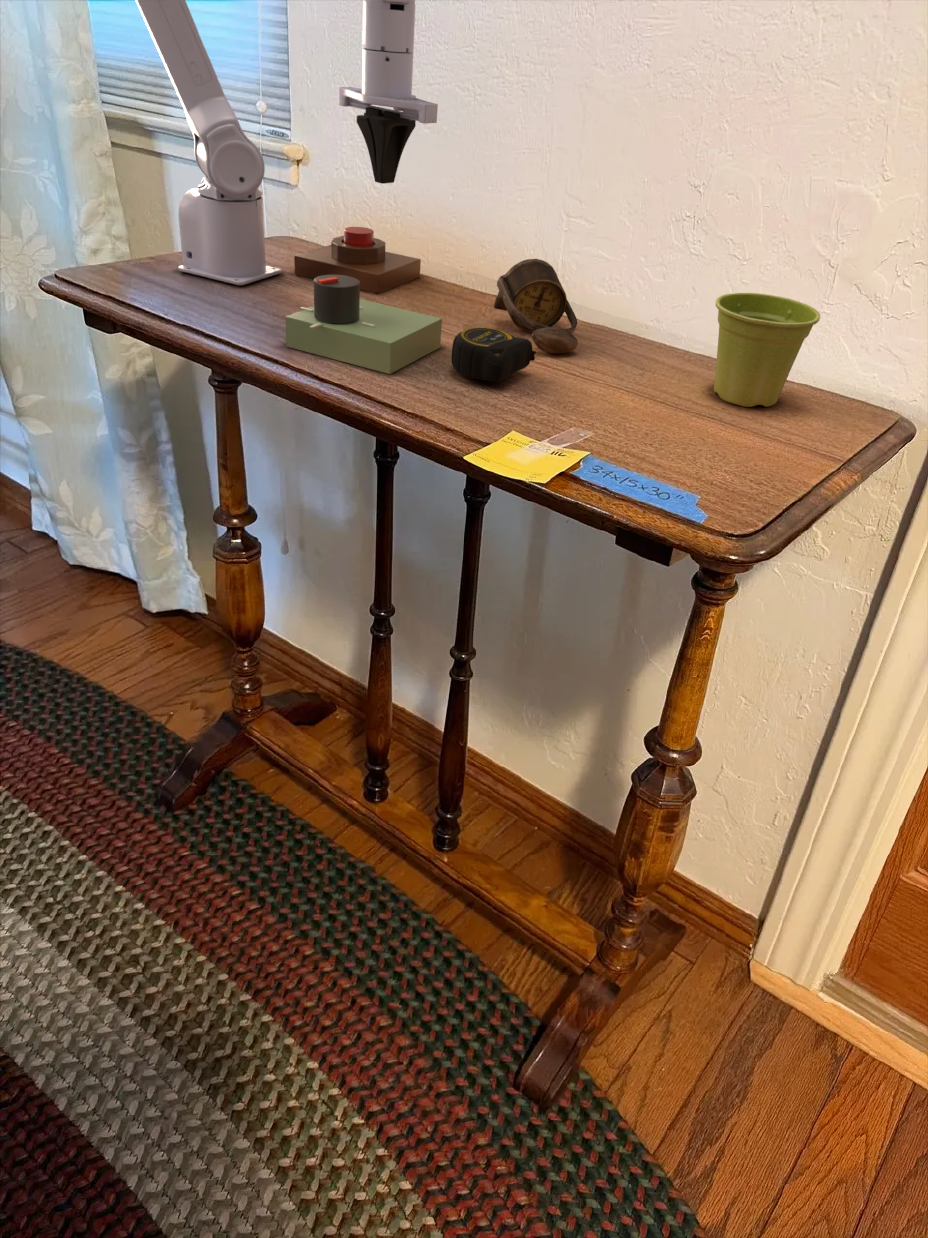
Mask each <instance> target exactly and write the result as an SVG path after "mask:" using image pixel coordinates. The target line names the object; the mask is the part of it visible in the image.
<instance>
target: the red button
mask: <svg viewBox="0 0 928 1238" xmlns="http://www.w3.org/2000/svg"><path fill="white" fill-rule="evenodd" d="M374 233H375V232H374V230H373V229H372V228H369V227H364V226H348V227H344V228H343V236H344V244H347V245H352V246H372V245H373V244H374V238H375V236H374V235H375V234H374Z"/></svg>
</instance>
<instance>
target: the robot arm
mask: <svg viewBox="0 0 928 1238" xmlns="http://www.w3.org/2000/svg"><path fill="white" fill-rule="evenodd" d="M135 3H136V5H137V7H138V10H139V12H140V14H141V16H142V19H143V21H144V23H145V26H146V27H147V30H148V32H149V34H150V37H151V39H152V41H153V43H154V45H155V47H156V50H157V52H158V54H159V57H160V59H161V61H162V63H163V65H164V69H165V70H166V72H167V74H168V77H169V78H170V81H171V83H172V85H173V88H174V90H175V92H176V95H177V97H178V99H179V101H180V104H181V106H182V108H183V111H184V114H185V117H186V122H187V124H188V126H189V128H190V131H191V133H192V136H193V143H194V146H193V155H194V158H195V162H196V165H197V167H198V169H199V170H200V171H201V172H202V174H203V175H204V177H202V180H201V181H200V182H199V184H198V185H197V187H193V188H191V189H189V190H187V191H186V192H185V193H184V194H183V195H182V198H181V199H180V203H179V206H178V225H179V228H178V229H179V239H180V250H181V259H182V265H179V266H178V268H177V269H178V271H180V272H183V273H186V274H189V275H190V274H191V275H194V276H199V277H203V278H208V279H211V280H214V281H219V282H224V283H228V284H231V285H236V286H245V285H248V284H251V283H254V282H257V281H261V280H264V279H267V278H270V277H273V276H276V275H279V274H281V273H282V269H281V268H280V267H274V266H270V265H267V264H266V244H265V219H264V218H265V217H264V196H263V195H264V194H263V192H264V191H263V189H261V188H260V186H261V184H262V183H263V180H264V177H265V173H266V172H265V170H266V165H265V160H264V157H263V153H262V152H261V150H260V148H259V147H258V146H257V144H255V143H254V142H253V141H252V140H251V139H250V138H248V136H247V135H246V134H245V132H244V131H243V129H242V126H241V124H240V122H239V119H238V117H237V116H236V113H235V112H234V109H233V108H232V106H231V105H230V102H229V101H228V99H227V97H226V94H225V92H224V90H223V87H222V86H221V83H220V80H219V78H218V75H217V73H216V71H215V68H214V66H213V63H212V61H211V58H210V56H209V54H208V51H207V49H206V46H205V44H204V42H203V39H202V37H201V35H200V32H199V30H198V27H197V25H196V22H195V21H194V18H193V16H192V13H191V11H190V9H189V6H188V4H187V0H135ZM362 4H363V5H362V61H361V62H362V63H361V64H362V67H361V69H362V70H361V71H362V72H361V77H362V78H361V88H359V87H352V86H339V87H338V106H339V107H344V108H345V107H351V108H355V109H360V110H364V112H363V114H359V115H356V119H355V120H356V121H355V122H356V124H357V126H358V128H359V130H360V132H361V134H362V136H363V139H364V142H365V145H366V147H367V152H368V155H369V160H370V164H371V168H372V169H371V170H372V173H373V178H374V182H375V183H377V184H378V183H379V184H381V185H383V184H393V183H395V180H396V176H397V172H398V169H399V165H400V161H401V158H402V154H403V152H404V150H405V146H406V145H407V142H408V141H409V138H410V137H411V135H412V133H413V132H414V130H415V128H416V124H417V123H416V122H418V123H421V124H426V125H427V124H437V122H438V108H439V107H438V103H435V102H431V101H427V100H425V99H421V98H418V97H417V96H416V95H415V94H413V93H412V92H413V75H414V74H413V72H414V71H413V70H414V51H415V50H414V49H415V25H416V0H362ZM386 107H388V108H386ZM391 108H393V109H391Z"/></svg>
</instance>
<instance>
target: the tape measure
mask: <svg viewBox="0 0 928 1238" xmlns="http://www.w3.org/2000/svg"><path fill="white" fill-rule="evenodd" d="M533 349H534V348H533V344H532V342H531V340H530V339H528V338H524V337H518V336H515V335H513V334H511V333H509V332H507V331H505V330H502V329H497V328H492V327H470V328H465V329H462V330H460V331H459V332H458V333H457V334H456V335H455V337H454V338H453V340H452V346H451V365H452V367H453V369H454V370H455V371H456V372H457V373H458V374H460V375H462V376H464V377H466V378H470V379H475V380H481V381H488V382H501V381H503V380H505V379H506V378H508V377H510V376H511V375H514V374H516V373H517V372H520V371H521V370H523V369H526V368H527V367H528V366H529V365H530V363H531V361H532V362H534V361H535V359H536V356H535V355H536V354H537V351H535V350H533Z"/></svg>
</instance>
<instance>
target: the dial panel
mask: <svg viewBox="0 0 928 1238" xmlns="http://www.w3.org/2000/svg"><path fill="white" fill-rule="evenodd" d="M284 319H285V345H286V348H290V349H294V350H297V351H302V352H304V353H305V352H306V353H309V354H312V355H317V356H320V357H324V358H328V359H332V360H335V361H339V362H342V363H346V364H350V365H353V366H358V367H361V368H365V369H369V370H373V371H377V372H380V373H384V374H387V375H391V374H394V372H397V371H399V370H401V369H402V368H405V367H406V366H408V365H410V364H412V363H413V362H416V361H418V360H420V359H421V358H423V357H425V356H427V355H429V354H431V353H433V352H435V351H436V350H438V349H440V348H441V344H442V343H441V341H442V326H443V318H442V317H438V316H433V315H429V314H425V313H421V312H416V311H412V310H408V309H404V308H399V307H395V306H392V305H387V304H383V303H380V302H379V303H378V302H375V301H371V300H366V299H362V298H360V314H359V320H358V321H356V322H353V323H348V324H332V323H326V322H322V321H319V320H317V319H316V318H315V316H314V305H312V306H309V307H304V306H301V307H299V311H296V312H293V313H291V314H289V315H286V316H285V317H284Z"/></svg>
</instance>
